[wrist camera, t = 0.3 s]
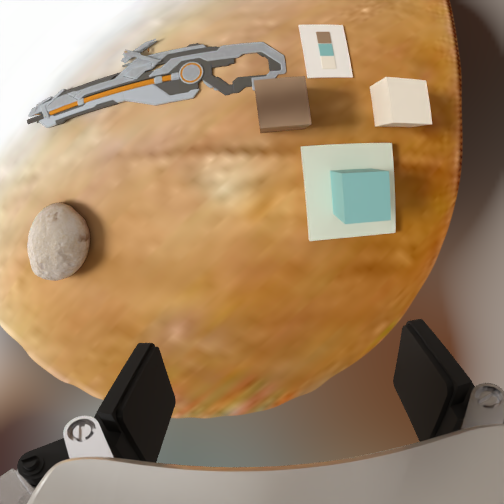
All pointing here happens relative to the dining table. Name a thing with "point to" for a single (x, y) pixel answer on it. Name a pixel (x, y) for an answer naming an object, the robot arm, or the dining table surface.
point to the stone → (58, 242)
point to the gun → (157, 80)
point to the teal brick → (361, 195)
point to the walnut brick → (282, 104)
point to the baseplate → (320, 194)
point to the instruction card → (325, 51)
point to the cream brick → (400, 103)
